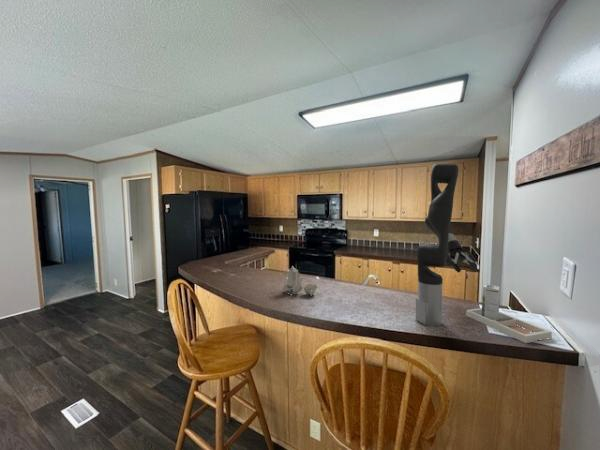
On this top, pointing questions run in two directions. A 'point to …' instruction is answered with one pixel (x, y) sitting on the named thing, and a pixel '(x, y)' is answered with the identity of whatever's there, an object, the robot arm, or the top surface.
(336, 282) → the top surface
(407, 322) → the top surface
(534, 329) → the two-slot holder
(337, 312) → the top surface
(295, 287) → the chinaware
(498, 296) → the syrup box
